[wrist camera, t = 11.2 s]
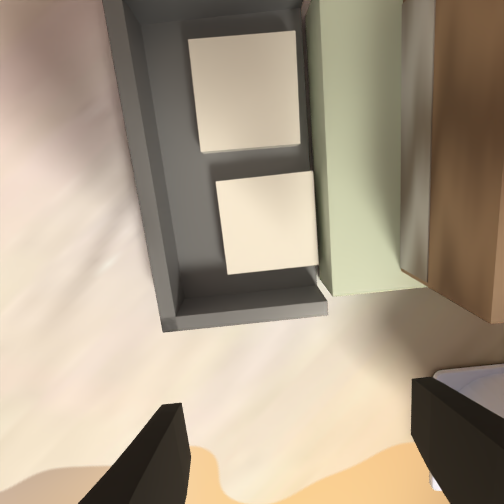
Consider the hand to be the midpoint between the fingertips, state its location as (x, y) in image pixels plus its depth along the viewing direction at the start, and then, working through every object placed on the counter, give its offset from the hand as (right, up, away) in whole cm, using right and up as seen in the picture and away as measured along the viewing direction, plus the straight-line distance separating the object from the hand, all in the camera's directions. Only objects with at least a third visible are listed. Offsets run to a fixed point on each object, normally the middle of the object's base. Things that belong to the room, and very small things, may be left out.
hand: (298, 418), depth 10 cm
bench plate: (+7, +11, +8) cm, 15 cm away
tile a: (-1, +7, +8) cm, 11 cm away
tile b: (-2, +13, +7) cm, 15 cm away
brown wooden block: (+7, +10, +5) cm, 13 cm away
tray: (-3, +10, +8) cm, 13 cm away
